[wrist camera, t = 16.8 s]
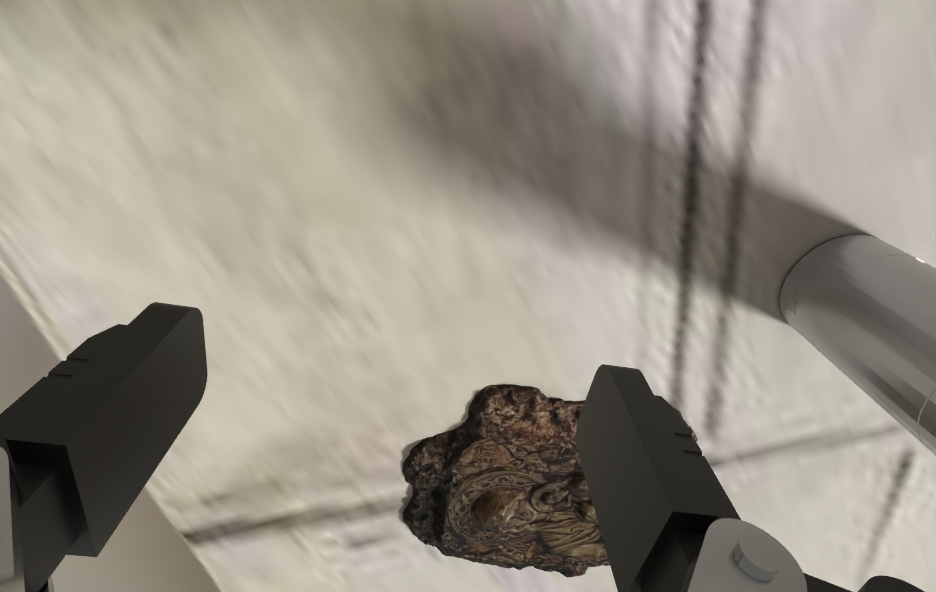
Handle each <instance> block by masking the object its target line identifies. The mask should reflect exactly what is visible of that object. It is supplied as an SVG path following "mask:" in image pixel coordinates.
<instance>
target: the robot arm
mask: <svg viewBox="0 0 936 592" xmlns="http://www.w3.org/2000/svg"><path fill="white" fill-rule="evenodd" d="M779 300H780V310H781V313H782V315H783V317H784V319H785V320H786V321H787V322H788V324H789V325H791V326H792V327H793V328H794V329H795V330H796V331H797V332H798V333H799V334H801V335H802V336H803V337H804V338H805V339H806V340H807V341H808V342H810V343H811V344H812V345H813V346H814V347H815V348H816V349H817V350H818V351H819V352H820V353H822V354H823V355H824V356H825V357H826V358H827V359H828V360H829V361H830V362H832V363H833V364H834V365H835V366H836V367H837V368H838V369H839V370H841V371H842V372H843V373H844V374H845V375H846V376H847V377H848V378H849V379H851V380H852V381H853V382H854V383H855V384H856V385H857V386H858V387H860V388H861V389H862V390H863V391H864V392H865V393H866V394H867V395H868V396H870V397H871V398H872V399H873V400H874V401H875V402H876V403H877V404H879V405H880V406H881V407H882V408H883V409H884V410H885V411H886V412H887V413H889V414H890V415H891V416H892V417H893V418H894V419H895V420H896V421H898V422H899V423H900V424H901V425H902V426H903V427H904V428H905V429H906V430H908V431H909V432H910V433H911V434H912V435H913V436H914V437H915V438H917V439H918V440H919V441H920V442H921V443H922V444H923V445H924V446H925V447H927V448H928V449H929V450H930V451H931V452H933V453H934V454H935V455H936V268H934V267H932V266H930V265H928V264H926V263H925V262H923V261H921V260H919V259H917V258H915V257H913V256H911V255H909V254H907V253H905V252H903V251H902V250H900V249H898V248H896V247H894V246H892V245H890V244H888V243H886V242H884V241H882V240H880V239H877V238H875V237H873V236H867V235H848V236H843V237H839V238H836V239H833V240H831V241H828V242H826V243H824V244H822V245H820V246H818V247H817V248H815V249H813V250H812V251H811V252H809V253H808V254H807V255H806V256H804V257H803V258H802V259H801V260H800V261H799V262H798V263H797V264H796V265H795V266H794V267H793V269H792V270H791V272H790V273H789V275H788V276H787V278H786V279H785V282H784V284H783V286H782V289H781V294H780V299H779ZM206 382H207V362H206V351H205V339H204V327H203V317H202V314H201V311H200V310H199V309H198V308H194V307H187V306H179V305H172V304H165V303H157V302H155V303H152V304H150V305H149V306H148V307H147V308H146V309H145V310H144V311H142V312H141V313H140V314H139V315H138V316H137V317H136V318H135V319H134V320H133V321H132V322H131V323H130V324H128V325H121V324H118V325H115V326H113V327H111V328H109V329H107V330H105V331H103V332H101V333H98V334H96V335H94V336H92V337H90V338H88V339H87V340H86V341H85V342H83V343H82V344H81V345H80V346H79V347H78V348H76V349H75V350H74V351H73V352H72V353H71V354H70V355H68V356H67V359H66V361H61V362H60V363H59V364H58V365H57V366H56V367H55V368H53V369H52V370H51V371H50V372H49V375H48V377H43V378H42V379H41V380H40V381H38V382H37V383H36V384H35V385H34V386H33V387H31V388H30V389H29V390H28V391H27V392H26V393H25V394H23V395H22V396H21V397H20V398H19V399H18V400H17V401H15V402H14V403H13V404H12V405H11V406H10V407H9V408H7V409H6V410H5V411H4V412H3V413H1V414H0V592H54V585H53V581H52V577H51V574H52V573H53V572H54V570H55V569H56V567H57V566H58V565H59V564H60V562H61V561H62V559H63V558H64V557H65V555H78V556H90V557H97V556H98V555H99V553H100V551H101V550H102V549H103V547H104V546H105V544H106V543H107V541H108V540H109V538H110V537H111V535H112V534H113V532H114V531H115V529H116V528H117V526H118V525H119V523H120V522H121V520H122V519H123V517H124V516H125V514H126V512H127V511H128V510H129V508H130V506H131V505H132V504H133V502H134V501H135V499H136V498H137V496H138V495H139V493H140V492H141V490H142V489H143V487H144V486H145V484H146V483H147V481H148V480H149V478H150V477H151V475H152V474H153V472H154V471H155V469H156V468H157V466H158V465H159V463H160V462H161V460H162V459H163V457H164V456H165V454H166V453H167V451H168V450H169V448H170V447H171V445H172V444H173V442H174V441H175V439H176V438H177V436H178V435H179V433H180V432H181V430H182V429H183V427H184V426H185V424H186V423H187V421H188V420H189V418H190V417H191V415H192V414H193V412H194V411H195V409H196V408H197V406H198V405H199V403H200V401H201V399H202V397H203V394H204V391H205V387H206ZM576 446H577V451H578V454H579V458H580V461H581V465H582V468H583V472H584V475H585V479H586V482H587V486H588V489H589V493H590V496H591V499H592V503H593V506H594V510H595V513H596V517H597V520H598V524H599V527H600V531H601V534H602V538H603V541H604V545H605V548H606V552H607V555H608V559H609V562H610V565H611V569H612V572H613V576H614V579H615V583H616V586H617V590H618V592H852V591H849V590H846V589H844V588H841V587H839V586H836V585H833V584H831V583H828V582H826V581H823V580H820V579H818V578H815V577H813V576H810V575H808V574H805V573H803V572H802V569H801V568H800V566H799V564H798V563H797V561H796V560H795V559H794V557H793V556H792V555H791V553H790V552H789V551H788V550H787V549H786V548H785V547H784V546H783V545H782V544H781V543H780V542H779V541H777V540H776V539H775V538H774V537H772V536H771V535H770V534H768V533H767V532H765V531H764V530H762V529H760V528H758V527H756V526H755V525H753V524H750V523H748V522H745V521H742V520H741V519H740V517H739V515H738V514H737V512H736V510H735V508H734V507H733V505H732V503H731V501H730V500H729V498H728V496H727V495H726V493H725V491H724V489H723V488H722V486H721V484H720V482H719V481H718V479H717V477H716V475H715V474H714V472H713V470H712V469H711V467H710V465H709V463H708V462H707V460H706V458H705V457H704V456H702V451H701V449H700V448H699V446H698V444H697V443H696V441H695V439H692V434H691V432H690V430H689V429H688V427H687V425H686V423H685V422H684V420H683V418H682V416H681V415H680V414H679V413H678V412H677V411H676V410H675V409H674V408H673V407H672V406H671V405H670V404H669V403H668V402H667V401H666V400H664V399H663V398H662V397H661V396H655V395H654V394H653V393H652V391H651V389H650V387H649V385H648V383H647V381H646V380H645V378H644V376H643V374H642V372H641V371H640V370H638V369H634V368H626V367H619V366H612V365H604V364H603V365H601V366H600V367H599V368H598V370H597V371H596V374H595V376H594V379H593V382H592V384H591V387H590V389H589V392H588V395H587V397H586V400H585V403H584V405H583V408H582V411H581V413H580V416H579V419H578V422H577V428H576ZM858 592H924V591H922V590H921V589H919V588H917V587H915V586H914V585H911V584H909V583H907V582H905V581H903V580H900V579H897V578H893V577H889V576H874V577H872V578H870V579H869V580H868V581H867V582H866V583H865V584H864V585H863V586H862V588H861V589H860V590H859V591H858Z"/></svg>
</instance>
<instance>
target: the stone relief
mask: <svg viewBox="0 0 936 592" xmlns="http://www.w3.org/2000/svg"><path fill="white" fill-rule="evenodd" d="M584 403H585V401H580V402H573V401H564V400H562V399H549V398H548V397H546V396H545V395H544V394H542V392H541V391H540V390H539V389H538V388H534V387H527V386H518V385H490V386H487V387H485V388H483V389H482V390H481V391H480V392H479V393H477V394H476V395H475V397H474V399H473V401H472V403H471V404H470V407H469V412H468V415H469V417H468V419H467V420H466V421H465V423H463V424H462V425H461V426H460V427H458V428H456V429H454V430H452V431H447V432H444V433H440V434H437V435H435V436H433V437H428V438H425V439H423V440H422V441H421V442H420V443H419V444H418V445H416V446H414V448H413V449H412V450H411V451H410V454H409V456H408V457H407V459H406V460H405V462H404V464H403V470H402V471H403V474H404V476H405V479H406V482H408V483H411V484H412V485H413V496H412V498H411V500H410V502H409V504H408V506H407V507H406V508H405V510H404V511H403V521H404V522H405V523H406V524H407V525H408V526H409V528H410V530H411V532H412V534H413V535H415V536H417V538H418V539H419V540H420V541H422V542H423V543H424V544H425V545H426V544H429V545H431V546H435V547H437V548H438V549H439V550H440V552H441V553H442V554H443V555H445V556H454V557H457V558H463V559H466V560H470V561H472V562H479V563H483V564H490V565H497V566H499V567H504V568H512V567H514V568H516V569H518V570H521V569H523V568H525V567H528V566H534V567H535V568H537V569H540V570H543V571H549V572H552V571H557V572H560V573H561V574H563V575H564V576H566V577H574V576H580V575H584V574H585V572H586V570H587V568H588V567H596V566H601V565H605V566H606V565H610V562H609V559H608V555H607V552H606V548H605V545H604V541H603V538H602V534H601V531H600V527H599V524H598V520H597V517H596V513H595V510H594V506H593V503H592V499H591V496H590V493H589V489H588V486H587V482H586V479H585V475H584V472H583V468H582V465H581V461H580V458H579V454H578V451H577V446H576V428H577V422H578V419H579V416H580V413H581V411H582V408H583V405H584ZM675 410H676V409H675ZM676 411H677V412H678V413H679V414H680V415H681V413H680V412H679V411H678V410H676ZM681 416H682V415H681ZM682 418H683V417H682ZM684 422H685V421H684ZM685 423H686V422H685ZM686 425H687V427H688V429H689V430H690V432H691V434H692V439H695V441H696V442H697V440H698V439H697V437H696V435H695V432H694V431H693V430H692V429H691V427H690V426H688V424H687V423H686Z"/></svg>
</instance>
